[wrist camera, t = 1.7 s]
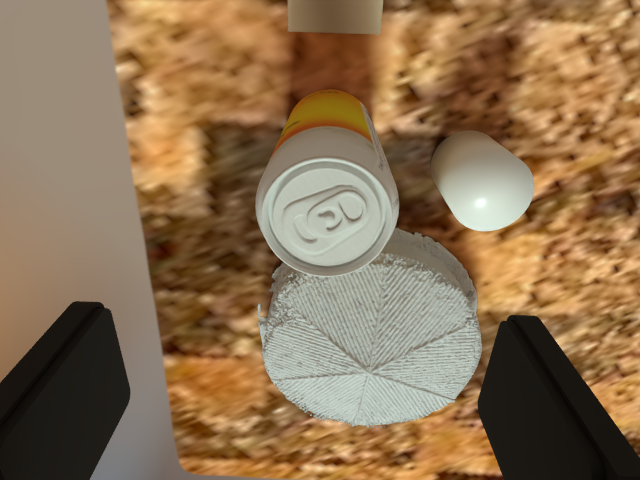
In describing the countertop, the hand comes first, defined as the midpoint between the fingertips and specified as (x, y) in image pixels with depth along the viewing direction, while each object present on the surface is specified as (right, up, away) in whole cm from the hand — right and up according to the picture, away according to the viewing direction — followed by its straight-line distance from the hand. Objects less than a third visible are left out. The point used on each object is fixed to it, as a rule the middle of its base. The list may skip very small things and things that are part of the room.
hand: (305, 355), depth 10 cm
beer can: (+1, +11, +20) cm, 23 cm away
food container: (+5, -4, +28) cm, 29 cm away
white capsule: (+11, +8, +21) cm, 25 cm away
